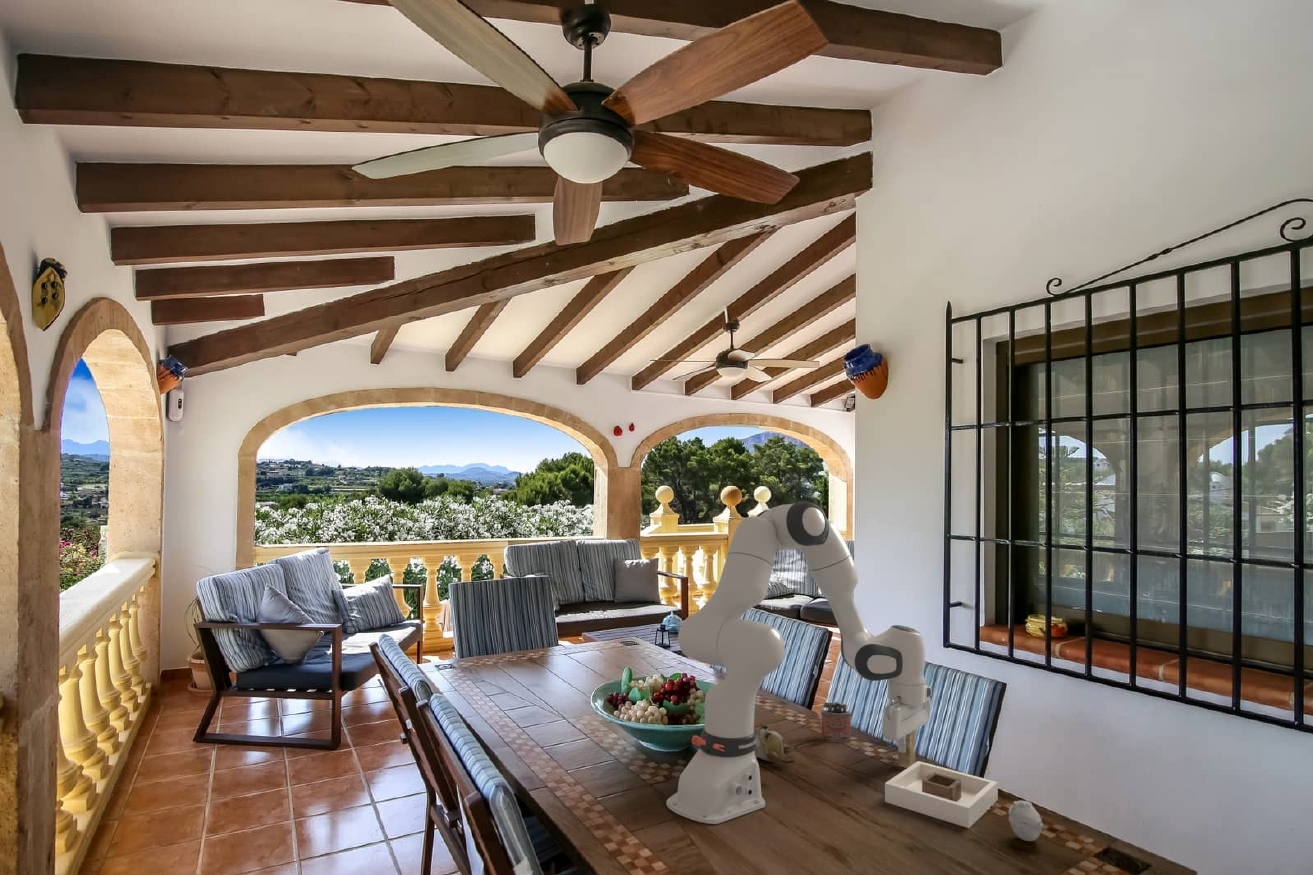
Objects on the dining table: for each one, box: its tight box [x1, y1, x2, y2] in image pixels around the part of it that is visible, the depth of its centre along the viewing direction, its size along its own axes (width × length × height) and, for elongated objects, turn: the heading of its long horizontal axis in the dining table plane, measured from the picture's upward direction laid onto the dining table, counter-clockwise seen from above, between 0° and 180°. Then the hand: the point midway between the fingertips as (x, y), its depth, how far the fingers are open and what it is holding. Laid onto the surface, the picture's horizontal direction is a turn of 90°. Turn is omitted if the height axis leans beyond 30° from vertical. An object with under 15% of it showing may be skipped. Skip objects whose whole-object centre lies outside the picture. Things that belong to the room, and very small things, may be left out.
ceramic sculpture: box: [754, 725, 799, 765], centre depth 188 cm, size 11×9×15 cm
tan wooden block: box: [897, 730, 916, 769], centre depth 185 cm, size 3×3×10 cm
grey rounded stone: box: [1008, 800, 1044, 842], centre depth 148 cm, size 6×7×7 cm
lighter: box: [820, 701, 852, 743], centre depth 203 cm, size 8×3×10 cm, turn 84°
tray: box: [884, 760, 999, 829], centre depth 165 cm, size 18×18×4 cm
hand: (906, 749), depth 185 cm, fingers closed on tan wooden block, 3 cm apart
